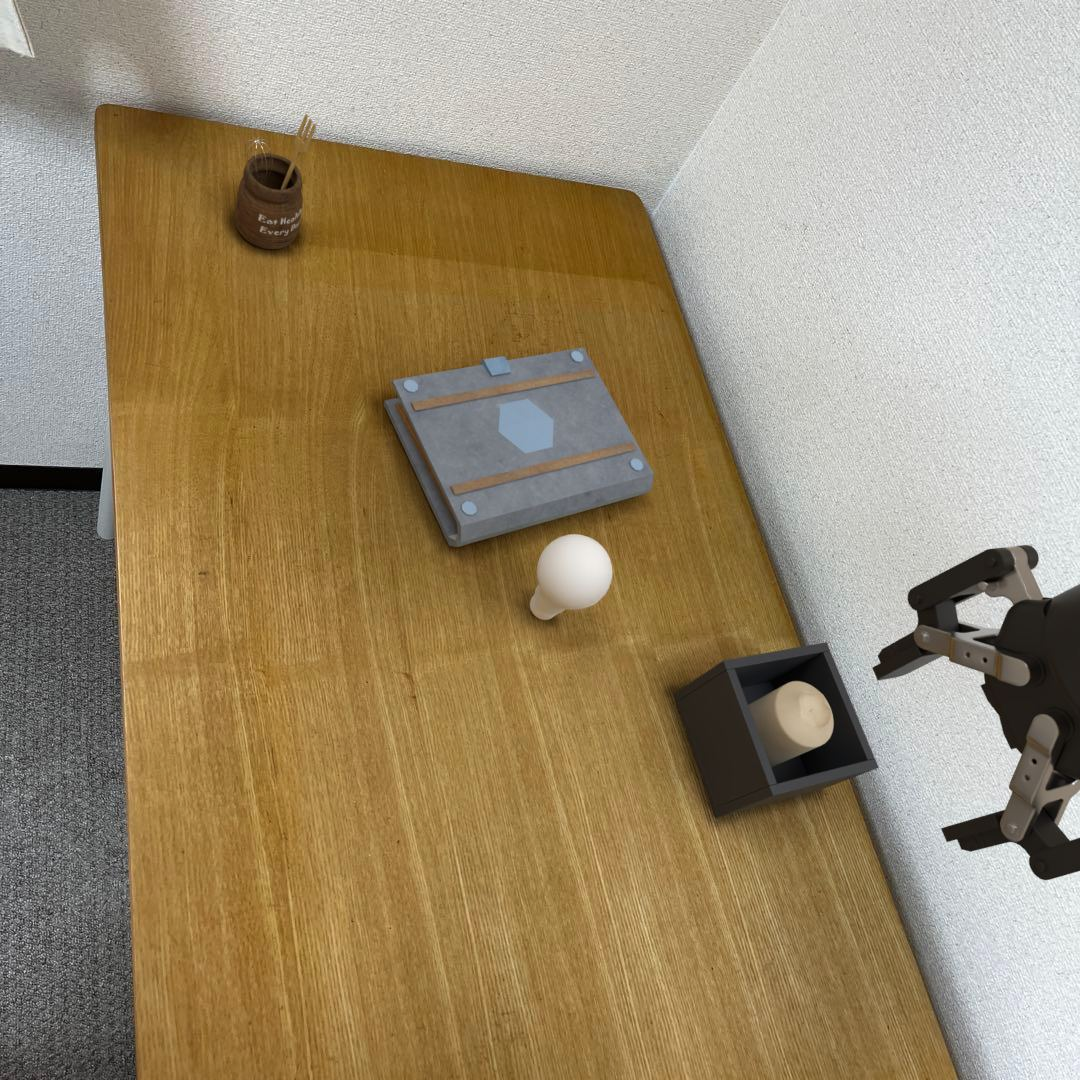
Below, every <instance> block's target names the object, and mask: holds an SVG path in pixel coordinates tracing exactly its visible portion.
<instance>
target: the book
mask: <svg viewBox="0 0 1080 1080" xmlns="http://www.w3.org/2000/svg"><path fill="white" fill-rule="evenodd" d="M391 385H392V387H393V389H394V391H395V393H396V396H397V398H390V399H385V400H384V402H383V406H384V408H385V411H386V413H387V415H388V417H389V419H390V421H391V423H392V425H393V428H394V430H395V431H396V434H397V436H398V439H399V441H400V443H401V445H402V447H403V449H404V451H405V454H406V456H407V458H408V460H409V463H410V464H411V467H412V469H413V471H414V473H415V475H416V478H417V480H418V482H419V485H420V486H421V488H422V491H423V493H424V495H425V497H426V499H427V501H428V503H429V505H430V508H431V510H432V512H433V514H434V517H435V519H436V520H437V523H438V525H439V527H440V528H441V532H442V534H443V536H444V538H445V540H446V542H447V545H448V546H449V547H457V548H459V547H462V546H467V545H469V544H474V543H477V542H479V541H484V540H487V539H490V538H494V537H497V536H502V535H505V534H508V533H512V532H516V531H519V530H523V529H526V528H529V527H533V526H536V525H540V524H544V523H547V522H551V521H554V520H558V519H562V518H565V517H569V516H571V515H575V514H580V513H582V512H586V511H589V510H592V509H597V508H600V507H603V506H608V505H611V504H615V503H618V502H622V501H624V500H629V499H632V498H635V497H639V496H642V495H646V494H649V492H651V490H652V489H653V485H654V475H655V473H654V471H653V470H652V469H653V468H652V467H651V466H650V464H649V462H648V460H647V459H646V457H645V455H644V453H643V451H642V449H641V448H640V446H639V444H638V442H637V440H636V438H635V437H634V435H633V433H632V431H631V429H630V428H629V426H628V424H627V422H626V421H625V419H624V417H623V415H622V413H621V412H620V410H619V408H618V406H617V404H616V403H615V401H614V399H613V397H612V395H611V394H610V391H609V390H608V388H607V386H606V384H605V383H604V381H603V379H602V377H601V376H600V374H599V372H598V370H597V369H596V367H595V365H594V363H593V361H592V359H591V358H590V356H589V353H587V350H586V349H585V347H578V348H571V349H565V350H559V351H554V352H548V353H541V354H536V355H531V356H524V357H518V358H512V359H508V360H507V358H506V356H505V355H501V356H500V355H499V356H494V357H489V358H482V359H481V361H480V363H479V364H478V365H477V364H476V365H471V366H466V367H460V368H454V369H448V370H443V371H437V372H432V373H425V374H419V375H414V376H413V375H412V376H408V377H403V378H402V377H401V378H396V379H392V380H391Z"/></svg>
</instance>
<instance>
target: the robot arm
mask: <svg viewBox="0 0 1080 1080" xmlns="http://www.w3.org/2000/svg"><path fill="white" fill-rule="evenodd" d="M1039 556H1040V555H1039V553H1038V551H1037V550H1036V548H1035V547H1033V546H1032V545H1029V544H1021V545H1012V546H1002V547H993V548H988V549H985V550H984V551H983V550H982V551H981V552H979V553H977V554H975V555H974V556H972V557H970V558H968V559H966V560H964V561H962V562H960V563H958V564H955V565H954V566H952V567H950V568H949V569H947V570H944V571H943V572H941V573H938V574H937V575H935V576H933V577H931V578H929V579H927V580H925V581H923V582H921V583H919V584H918V585H915V586H913V587H912V588H911V589H909V590H908V593H907V603H908V605H909V607H910V608H911V609H912V610H914V611H916V614H917V615H916V616H917V625H916V627H915V629H914V630H913V631H912V632H910V633H908V634H906V635H904V636H903V637H900V639H898V640H896V641H894V642H891V644H888V645H886V646H885V647H883V648H882V649H880V651H879V652H878V654H877V659H878V661H879V663H878V664H876V665H875V666H872V671H873V673H874V675H875V678H876V680H877V681H884V680H889V679H895V678H899V677H903V676H906V675H907V674H908V675H909V674H910V673H913V672H914V671H916V670H918V669H921V668H922V667H925V666H926V665H929V664H930V663H932V662H934V661H936V660H938V659H940V658H942V657H946V658H948V661H949V662H950V663H953V664H956V665H959V666H962V667H964V668H968V669H970V670H973V671H977V672H980V673H983V679H984V683H982V684H980V688H981V690H982V692H983V694H984V696H985V699H986V700H987V702H988V703H989V705H990V706H991V707H992V708H993V710H994V711H995V713H996V714H997V715H998V717H999V722H1000V726H1001V730H1002V733H1003V736H1004V739H1005V740H1006V742H1007V744H1008V746H1009V748H1010V750H1015V749H1016V750H1017V751H1018V752H1019V753H1020V754H1021V755H1020V758H1019V760H1018V763H1017V765H1016V767H1015V770H1014V772H1013V775H1012V777H1011V779H1010V782H1009V784H1008V789H1009V790H1010V791H1011V795H1010V797H1009V799H1008V802H1007V804H1006V806H1005V808H1004V809H1002V810H998V811H995V812H992V813H989V814H985V815H981V816H978V817H974V818H970V819H968V820H967V819H966V820H964V821H960V822H957V823H953V824H950V825H947V826H944V827H940V830H941V831H942V835H943V837H944V839H945V841H946V843H948V842H953V841H957V842H958V845H959V847H960V850H962V851H965V852H976V851H980V850H984V849H988V848H992V847H996V846H1000V845H1003V844H1007V843H1012V844H1016V845H1018V846H1020V847H1021V848H1022V849H1023V850H1024V851H1025V852H1026V854H1027V855H1028V856H1029V858H1028V865H1029V868H1030V870H1031V872H1032V873H1033V874H1034V875H1035V876H1036V878H1038V879H1039V880H1042V881H1051V880H1053V879H1057V878H1060V877H1061V878H1062V877H1064V876H1069V875H1071V874H1074V873H1078V872H1080V837H1078V838H1074V839H1071V840H1070V838H1068V836H1067V835H1066V834H1065V832H1064V831H1063V830H1062V829H1061V828H1060V827H1059V825H1060V822H1061V820H1062V818H1063V816H1064V813H1065V811H1066V809H1067V807H1068V805H1069V803H1070V801H1071V799H1072V798H1073V797H1074V796H1075V795H1076V794H1078V793H1079V792H1080V583H1078V584H1077V585H1075V586H1073V587H1071V588H1068V589H1066V590H1065V591H1062V592H1061V593H1059V594H1057V595H1055V596H1053V597H1047V596H1044V595H1043V593H1042V591H1041V588H1040V587H1039V584H1038V582H1037V580H1036V578H1035V576H1034V574H1033V572H1032V571H1033V570H1034V569H1035V568H1036V567H1037V566H1038V564H1039V560H1040V559H1039ZM984 593H985V595H986V596H988V597H990V598H1001V597H1003V598H1006V599H1008V600H1009V601H1010V602H1011V604H1012V606H1010V607H1009V609H1008V610H1007V611H1006V615H1005V617H1004V618H1003V621H1002V624H1001V626H1000V628H991V627H983V626H980V625H977V624H973V623H970V622H966V621H962V620H959V617H958V612H957V605H959V604H962V603H964V602H966V601H968V600H970V599H972V598H974V597H977V596H979V595H981V594H984Z"/></svg>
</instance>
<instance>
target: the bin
mask: <svg viewBox="0 0 1080 1080" xmlns="http://www.w3.org/2000/svg"><path fill="white" fill-rule="evenodd" d="M793 681H800V682H805V683H807V684H810V685H811V686H813V687H814V688H816V689H817V690H818V691H819V692H820V693H822V694H823V695H824V697H825V699H826V700H827V702H828V704H829V706H830V708H831V711H832V714H833V720H834V726H833V732H832V735H831V737H830V738H829V740H828V741H827V742H826V743H825V744H823V745H821V746H819V747H817V748H814V749H812V750H810V751H808V752H805V753H803V754H801V755H798V756H796V757H794V758H792V759H789V760H787V761H785V762H782V763H780V764H778V765H776V766H773V767H771V766H770V763H769V760H768V758H767V755H766V752H765V750H764V747H763V744H762V741H761V739H760V736H759V733H758V731H757V728H756V725H755V723H754V720H753V717H752V714H751V712H750V709H749V706H748V705H749V704H751V703H753V702H754V701H756V700H758V699H760V698H762V697H763V696H765V695H767V694H769V693H771V692H772V691H774V690H776V689H778V688H779V687H781V686H783V685H785V684H787V683H789V682H793ZM673 695H674V698H675V702H676V705H677V708H678V711H679V714H680V716H681V717H680V718H681V720H682V722H683V725H684V728H685V731H686V734H687V738H688V740H689V743H690V747H691V749H692V752H693V755H694V759H695V761H696V764H697V767H698V770H699V771H700V776H701V778H702V781H703V784H704V787H705V790H706V793H707V796H708V799H709V802H710V805H711V808H712V810H713V814H714V817H715V818H716V819H718V818H722V817H727V816H730V815H733V814H737V813H741V812H745V811H749V810H752V809H756V808H759V807H763V806H767V805H771V804H774V803H779V802H781V801H786V800H788V799H792V798H797V797H800V796H803V795H807V794H811V793H815V792H818V791H821V790H824V789H826V788H829V787H831V786H833V785H837V784H839V783H843V782H846V781H847V780H851V779H853V778H855V777H858V776H861V775H863V774H866V773H869V772H871V771H874V770H877V769H879V768H880V767H879V765H878V763H877V759H876V758H875V755H874V752H873V751H872V748H871V746H870V744H869V740H868V738H867V736H866V734H865V731H864V729H863V726H862V724H861V722H860V719H859V716H858V714H857V712H856V709H855V708H854V704H853V702H852V700H851V698H850V695H849V692H848V689H847V687H846V686H845V683H844V681H843V678H842V676H841V673H840V671H839V669H838V666H837V664H836V661H835V659H834V656H833V655H832V652H831V649H830V646H829V644H828V642H827V641H826V642H820V643H815V644H807V645H802V646H797V647H791V648H786V649H781V650H773V651H769V652H763V653H758V654H751V655H746V656H740V657H735V658H734V657H733V658H729V659H725V660H722V661H720V662H719V663H717V664H716V665H714V666H713V667H711V668H710V669H708V670H707V671H705V672H704V673H702V674H701V675H699V676H697V678H695V679H693V680H692V681H690V682H688V684H685V685H684V686H682V687H681V688H679V689H678V690H677V691H675V692H674V693H673Z"/></svg>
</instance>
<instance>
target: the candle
mask: <svg viewBox="0 0 1080 1080" xmlns="http://www.w3.org/2000/svg"><path fill="white" fill-rule="evenodd" d="M748 706H749V709H750V712H751V714H752V717H753V720H754V723H755V725H756V728H757V731H758V733H759V736H760V739H761V741H762V744H763V747H764V750H765V752H766V755H767V758H768V760H769V763H770V766H771V767H773V766H776V765H778V764H780V763H782V762H785V761H787V760H789V759H792V758H794V757H796V756H798V755H801V754H803V753H805V752H808V751H810V750H812V749H814V748H817V747H819V746H821V745H823V744H825V743H826V742H827V741H828V740H829V738H830V737H831V735H832V732H833V726H834V720H833V714H832V711H831V708H830V706H829V704H828V702H827V700H826V699H825V697H824V695H823V694H822V693H820V692H819V691H818V690H817V689H816V688H814V687H813V686H811V685H810V684H807V683H805V682H800V681H793V682H789V683H787V684H785V685H783V686H781V687H779V688H778V689H776V690H774V691H772V692H771V693H769V694H767V695H765V696H763V697H762V698H760V699H758V700H756V701H754V702H753V703H751V704H749V705H748Z"/></svg>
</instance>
